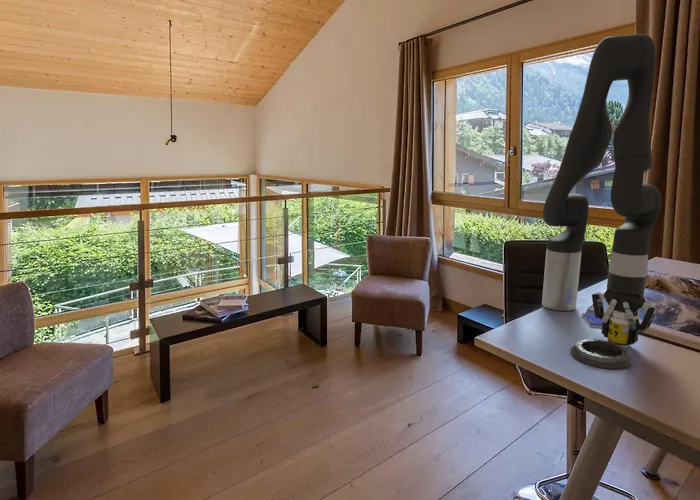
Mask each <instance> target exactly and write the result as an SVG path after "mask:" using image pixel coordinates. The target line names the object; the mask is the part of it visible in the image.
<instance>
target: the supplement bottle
mask: <svg viewBox="0 0 700 500" xmlns="http://www.w3.org/2000/svg"><path fill="white" fill-rule="evenodd" d="M612 315H613V316H611V317H610V322H609V329H608V337H607V340H606V341H608V342H612V343H615V344H617V345H619V346H622V347H623V348H628V347H630V346H631V345H629V344H628V336H629V330H630V329H631V327H630V323H629V321H628V320H627V316H626V313H624V312H620V311H616V310H613V312H612Z"/></svg>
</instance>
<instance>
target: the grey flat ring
mask: <svg viewBox="0 0 700 500" xmlns="http://www.w3.org/2000/svg"><path fill="white" fill-rule="evenodd" d="M570 355H571V357H572V358H574V359H575V360H577V361H578V362H580V363H582V364H584V365H586V366H590V367H593V368H597V369H604V370H607V371H619V370H625V369H628V368H629V369H630V367H631V366H633V365H632V364H633V359H632V357H631V356H630V355H629V351H628V350H627V349H626V348H625V347H622V346H619V345H617V344H615V343H612V342H608V341H607V340H603V339H596V338H595V339H594V338H591V339H590V338H586V339H581V340H578V341H577V342H576V344H575V345H573V346H572V347H571V349H570Z"/></svg>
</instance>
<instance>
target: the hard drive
mask: <svg viewBox="0 0 700 500" xmlns="http://www.w3.org/2000/svg"><path fill="white" fill-rule="evenodd" d="M581 317H582V318H583V319H584V320H585V322H586V324H587V325H588V326H589V327H590V328H601V329H602V324H603V322H602V320H601V319H599V318H596V317H595V313H587V312H586V313H585V312H583V313H582V314H581Z"/></svg>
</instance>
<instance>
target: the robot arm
mask: <svg viewBox="0 0 700 500" xmlns="http://www.w3.org/2000/svg"><path fill="white" fill-rule="evenodd" d="M588 67H589V68H588V73H587V76H586V80H585V84H584V85H585V86H584V90H583V94H582V97H581V100H580V104H579V108H578V111H577V115H576V118H575V120H574V123H573V126H572V128H571V132H570V133H569V138H568V140H567V143H566V146H565V150H564V154H563V156H562V160H561V162H560V166H559V168H558V172H557V174H556V176H555V178H554V181H553V182H552V186H551V187H550V190H549V191H548V195H547V197H546V199H545V202H544V204H543V210H542V220H543V221H544V223H545V224H546V225H547V226H549V227H560V228H561V227H564V228H565V227H566V228H565V230H563V231H562V232H561V233H559V234H556V235H554V236H551V237H549V238H548V239H547V241H546V250H545V251H546V252H545V262H544V263H545V264H544V275H543V276H544V277H543V288H542V297H541V298H542V300H541V305H542V307H545V308H547V309H548V310H549V309H550V310H554V311H559V312H562V311H563V312H570V311H574V310H576V308H577V302H578V301H577V299H578V290H579V279H580V270H581V262H582V261H581V260H582V251H583V245H584V242H585V237H586V231H587V230H586V229H587V225H588V224H587V223H588V218H589V207H590V206H589V200H588V198H587V197H586V195H584V194H581V193H571V192H572V189H573V188H575V186H576V185H578V183H580V182H581V181H582V180H583V179H584V178H585V177H587V176H589V174H590V173H591V172H593V171H594V170H595V169H596V168H597V167H598V166H600V163H602V161H603V159H604V157H605V155H606V153H607V151H608V147H609V146H610V144H611V143H610V142H611V140H612V138H613V141H612V148H613V158H614V166H615V168H614V173H613V177H612V182H611V188H610V203H611V206H612V208H613V210H614V211H615V213H616V214H617V215H619V216H621V217H624V218H625V219H624V222H623V224H622V225H620V226H618V227H617V228H616V229H615V231H614V234H613V241H612V250H611V254H610V259H609V263H608V264H609V265H608V273H607V283H606V291H605V292H600V291H597V292H595V293H593V294H591V299H592V304H593V307H592V308H593V312H594V313H593V314H595V317H596V318H599V319H601V320H602V322H603V324H602V328H601V334H602V335H603V337H604V338H608V329H609V322H610V317H611V316H613V315H612V312H613V310H616V311H620V312H624V313H626V316H627V320H628V321H629V323H630V327H631V329H630V330H629V336H628V344H629V345H630V346H633V345H634V344H635V343H637V342H639V341H638V340H639V336H640V335H639V334H640V331H641V330H643V331H646V330H647V329H649V328H650V326H651V324H652V322H653V321H654V320H655V319H654V318H655V316H656V314H657V312H658V310H659V306H658V305H655V304H654V305H653V304H650V303H648V302H646V300H645V297H644V294H645V289H646V282H647V275H648V272H649V269H648V267H649V266H648V265H649V257H648V256H649V249H650V241H651V235H652V232H653V230H654V228H655V226H656V223H657V220H658V218H659V214H660V212H661V208H662V203H663V201H662V194H661V192H660V190H659V189H658V188H657V187H656V186H655V185H653V184H650V183H644V174H645V172H647V171H649V170H650V169H651V168H652V164H653V157H652V156H653V155H652V145H651V144H652V142H651V132H650V131H651V130H650V129H651V123H650V122H651V121H650V120H651V108H652V100H653V99H652V98H653V91H654V80H655V79H654V78H655V69H656V46H655V42H654V40H653V39H652V37H651V36H650V35H648V34H643V33H638V34H635V33H634V34H627V35H626V34H624V35H614V36H613V35H612V36H607V37H604V38H603V39H602V40H601V41H599V42H598V44H597V45H596V48H594V52H593V54H592V57H591V59H590V64H589V66H588ZM614 81H616V82H618V81H627V85H628V98H627V102H626V104H625V107H624V110H623V112H622V113H621V114H622V115H621V116H620V119H619V120H618V123H617V124H616V127H615V130H614V133H613V127H612V124H611V119H610V117H609V115H608V110H607V99H608V95H609V92H610V88H611V86H612V84H613V82H614ZM612 136H613V137H612ZM604 301H606V303H607V305H608V307H607V309H606V310H605V308H604ZM641 308H643V312H644V314H645V315H644V317H643V319H642V321H640V313H639V310H640V309H641Z"/></svg>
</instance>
